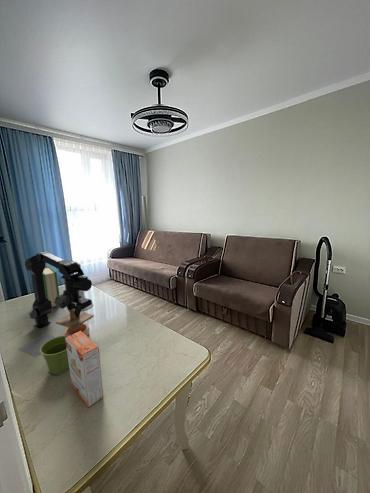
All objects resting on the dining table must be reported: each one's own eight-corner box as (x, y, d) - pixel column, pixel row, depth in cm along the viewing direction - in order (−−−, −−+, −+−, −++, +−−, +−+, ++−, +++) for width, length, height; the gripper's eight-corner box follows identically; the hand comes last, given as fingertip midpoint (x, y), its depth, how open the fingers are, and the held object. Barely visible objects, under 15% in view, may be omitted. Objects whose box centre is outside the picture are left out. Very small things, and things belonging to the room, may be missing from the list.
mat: (17, 350, 98) (17, 348, 98) (45, 334, 110) (44, 333, 110) (35, 357, 93) (35, 356, 93) (62, 340, 105) (62, 339, 105)
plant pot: (52, 385, 79) (49, 359, 77) (37, 371, 85) (33, 347, 83) (82, 365, 89) (79, 341, 87) (66, 354, 95) (63, 332, 93)
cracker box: (70, 386, 79) (64, 336, 75) (86, 376, 83) (81, 329, 79) (87, 409, 70) (81, 355, 66) (104, 397, 74) (99, 345, 70)
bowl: (60, 340, 105) (59, 332, 104) (78, 328, 115) (77, 321, 114) (76, 346, 101) (75, 338, 100) (93, 333, 111) (93, 325, 110)
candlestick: (86, 300, 148) (82, 259, 142) (97, 305, 141) (93, 262, 135) (68, 307, 138) (63, 263, 132) (78, 313, 130) (73, 267, 124)
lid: (55, 323, 102) (54, 312, 101) (76, 311, 113) (75, 301, 112) (73, 329, 98) (72, 317, 97) (93, 316, 109) (92, 306, 108)
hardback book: (60, 305, 140) (56, 271, 135) (47, 309, 135) (43, 274, 130) (53, 297, 152) (49, 265, 147) (41, 300, 147) (37, 268, 142)
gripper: (42, 290, 98) (46, 320, 101) (71, 297, 91) (74, 329, 95) (64, 282, 108) (67, 309, 112) (91, 288, 101) (93, 317, 105)
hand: (75, 316), depth 105 cm, fingers closed on lid, 3 cm apart
